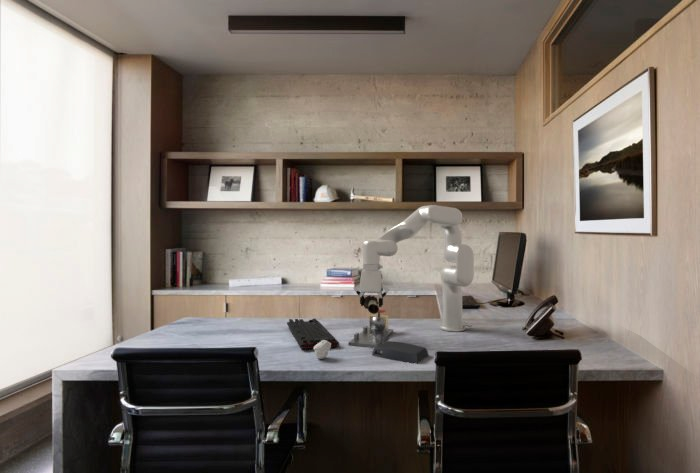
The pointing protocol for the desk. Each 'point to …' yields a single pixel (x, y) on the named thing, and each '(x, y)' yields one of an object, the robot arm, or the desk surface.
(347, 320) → the desk surface
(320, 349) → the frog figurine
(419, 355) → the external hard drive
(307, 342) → the keyboard
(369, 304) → the morel mushroom
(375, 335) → the stand
